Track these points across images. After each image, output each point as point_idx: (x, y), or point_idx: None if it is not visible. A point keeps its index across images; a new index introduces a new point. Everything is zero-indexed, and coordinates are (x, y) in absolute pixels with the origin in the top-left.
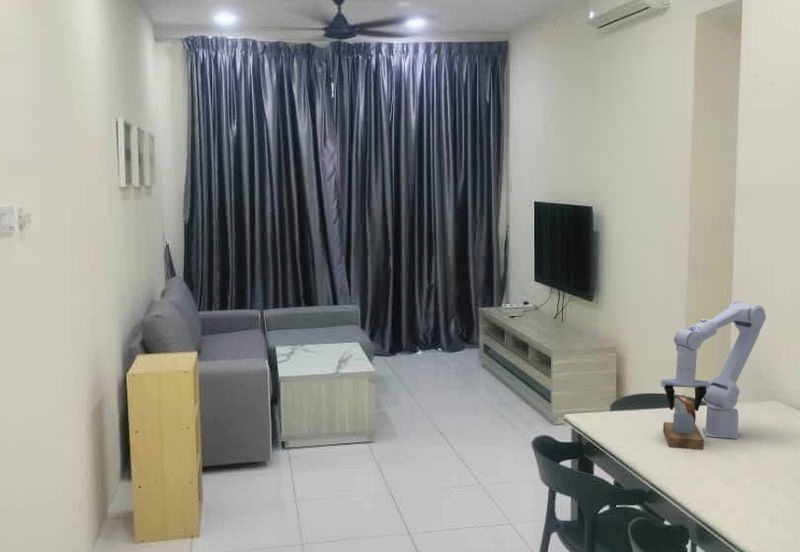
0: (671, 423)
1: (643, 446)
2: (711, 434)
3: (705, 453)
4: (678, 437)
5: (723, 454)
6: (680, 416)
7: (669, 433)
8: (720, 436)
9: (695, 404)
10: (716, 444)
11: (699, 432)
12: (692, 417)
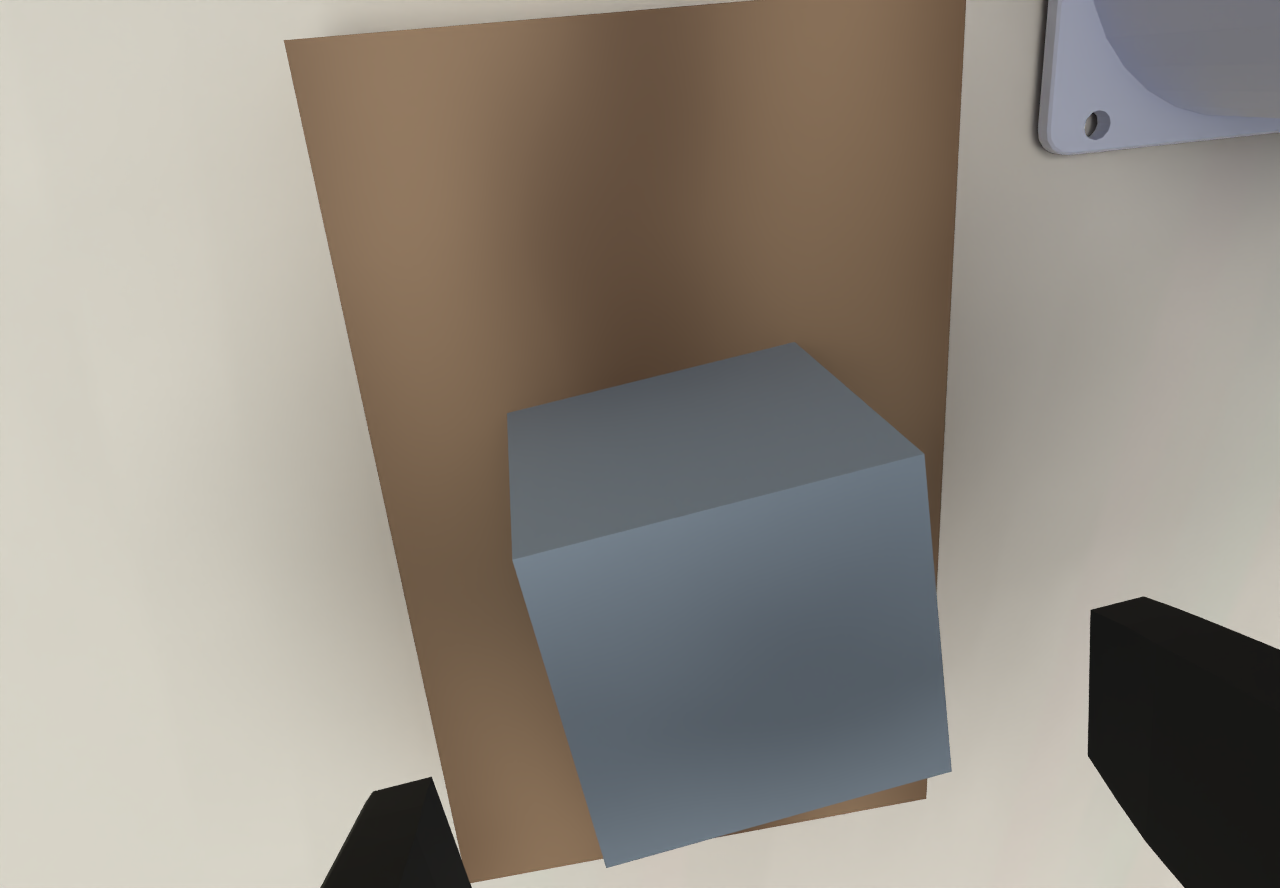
0: (465, 100)
1: (152, 883)
2: (1136, 85)
3: (877, 810)
4: (594, 835)
5: (1063, 764)
6: (665, 776)
7: (457, 720)
8: (1246, 135)
9: (1211, 788)
10: (1083, 454)
11: (937, 491)
12: (922, 734)
